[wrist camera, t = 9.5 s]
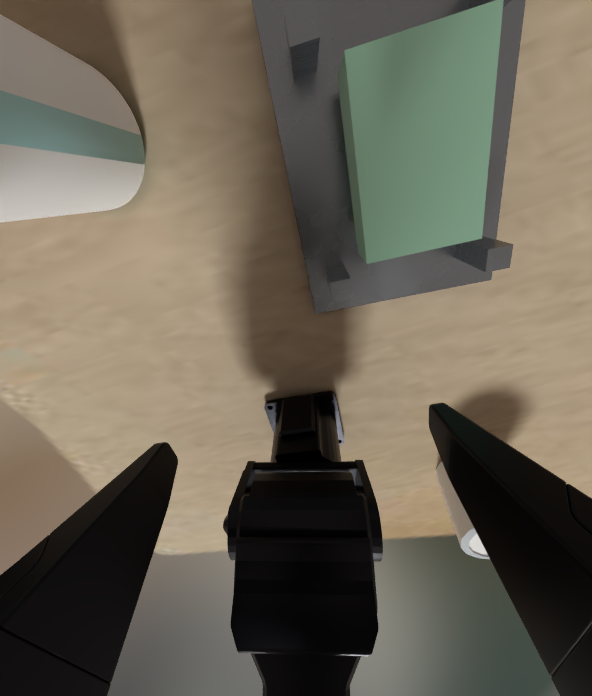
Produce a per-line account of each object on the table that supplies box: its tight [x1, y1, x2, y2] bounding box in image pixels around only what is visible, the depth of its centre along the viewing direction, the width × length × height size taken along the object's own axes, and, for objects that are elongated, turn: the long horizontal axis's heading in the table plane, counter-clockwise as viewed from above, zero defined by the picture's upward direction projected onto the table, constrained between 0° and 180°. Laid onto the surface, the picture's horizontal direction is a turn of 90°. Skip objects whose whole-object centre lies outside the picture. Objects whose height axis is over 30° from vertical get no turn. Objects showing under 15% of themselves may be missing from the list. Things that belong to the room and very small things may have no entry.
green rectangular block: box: [337, 0, 504, 264], centre depth 13 cm, size 8×6×3 cm
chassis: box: [252, 0, 525, 314], centre depth 14 cm, size 16×12×4 cm
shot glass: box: [436, 461, 490, 559], centre depth 26 cm, size 7×7×7 cm
